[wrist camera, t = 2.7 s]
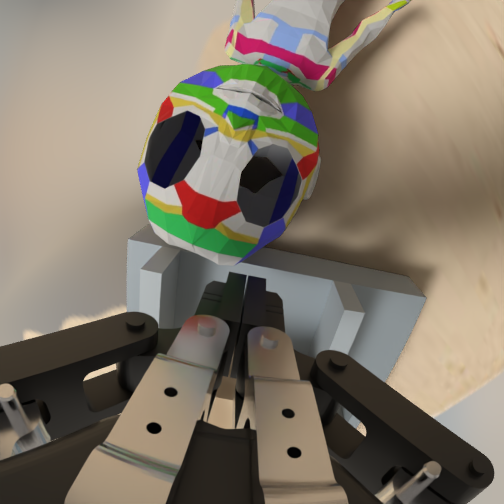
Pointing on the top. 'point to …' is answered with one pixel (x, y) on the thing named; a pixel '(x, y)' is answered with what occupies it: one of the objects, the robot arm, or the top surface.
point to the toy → (246, 129)
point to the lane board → (285, 298)
